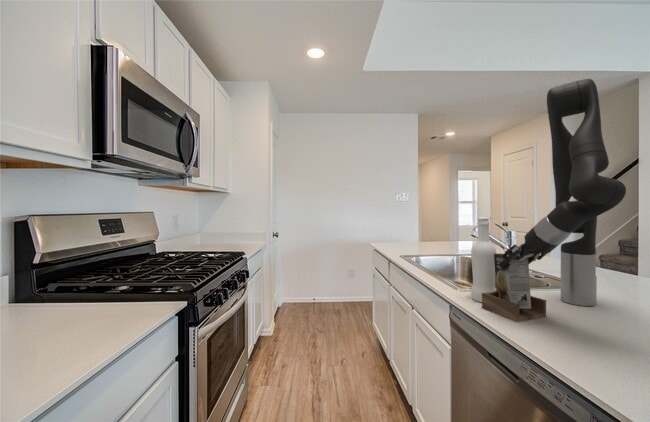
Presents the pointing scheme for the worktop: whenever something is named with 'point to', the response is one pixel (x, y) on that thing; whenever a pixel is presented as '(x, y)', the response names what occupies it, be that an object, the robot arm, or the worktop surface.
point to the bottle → (483, 262)
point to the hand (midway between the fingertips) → (511, 266)
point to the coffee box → (513, 282)
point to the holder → (513, 307)
